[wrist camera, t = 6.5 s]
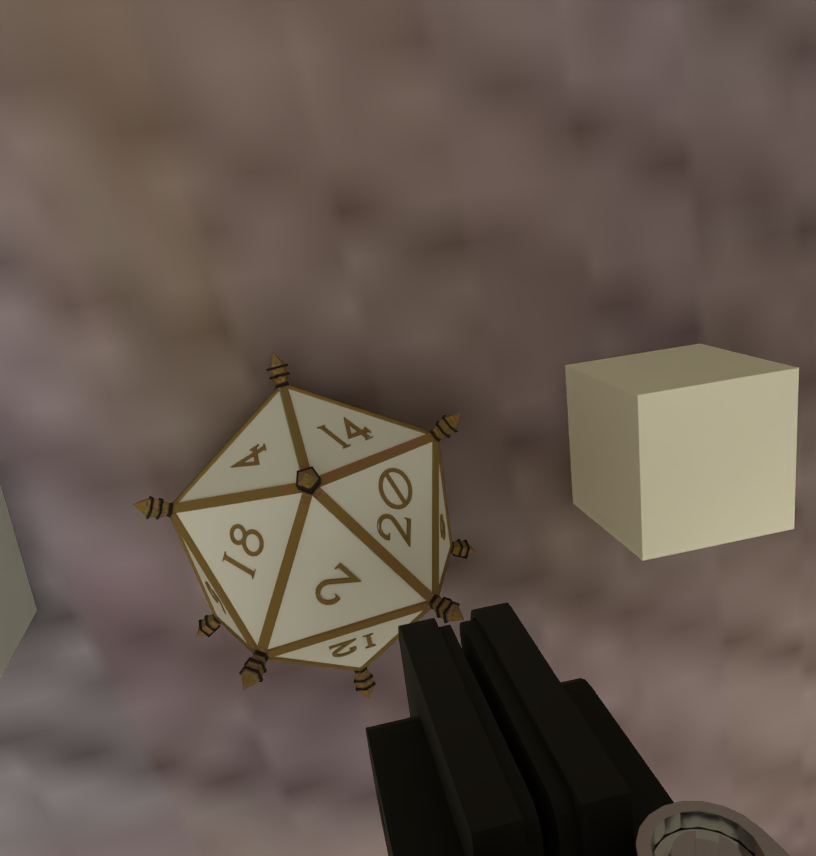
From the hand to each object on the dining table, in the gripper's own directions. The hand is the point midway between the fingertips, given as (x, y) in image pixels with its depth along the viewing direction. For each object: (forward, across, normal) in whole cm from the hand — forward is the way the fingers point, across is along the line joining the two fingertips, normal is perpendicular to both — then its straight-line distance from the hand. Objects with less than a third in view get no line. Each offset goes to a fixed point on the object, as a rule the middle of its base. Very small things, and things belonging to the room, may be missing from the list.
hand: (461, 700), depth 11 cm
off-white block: (+14, -10, +1) cm, 17 cm away
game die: (+14, +2, +1) cm, 14 cm away
